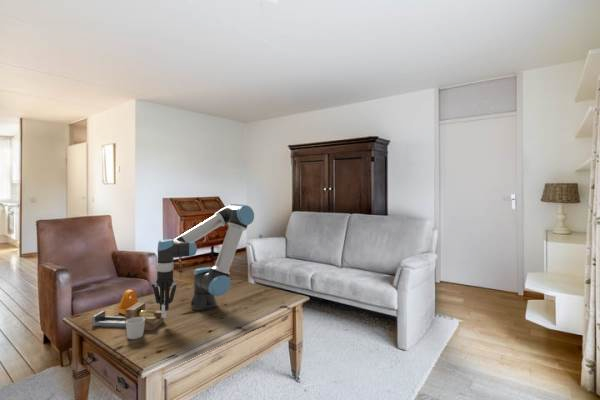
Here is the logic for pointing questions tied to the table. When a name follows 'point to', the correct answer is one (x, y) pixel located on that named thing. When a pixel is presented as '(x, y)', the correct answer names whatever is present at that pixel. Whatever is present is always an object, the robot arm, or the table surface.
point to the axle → (145, 313)
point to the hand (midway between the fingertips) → (164, 316)
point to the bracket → (127, 301)
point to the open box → (149, 321)
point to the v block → (108, 320)
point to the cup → (135, 327)
